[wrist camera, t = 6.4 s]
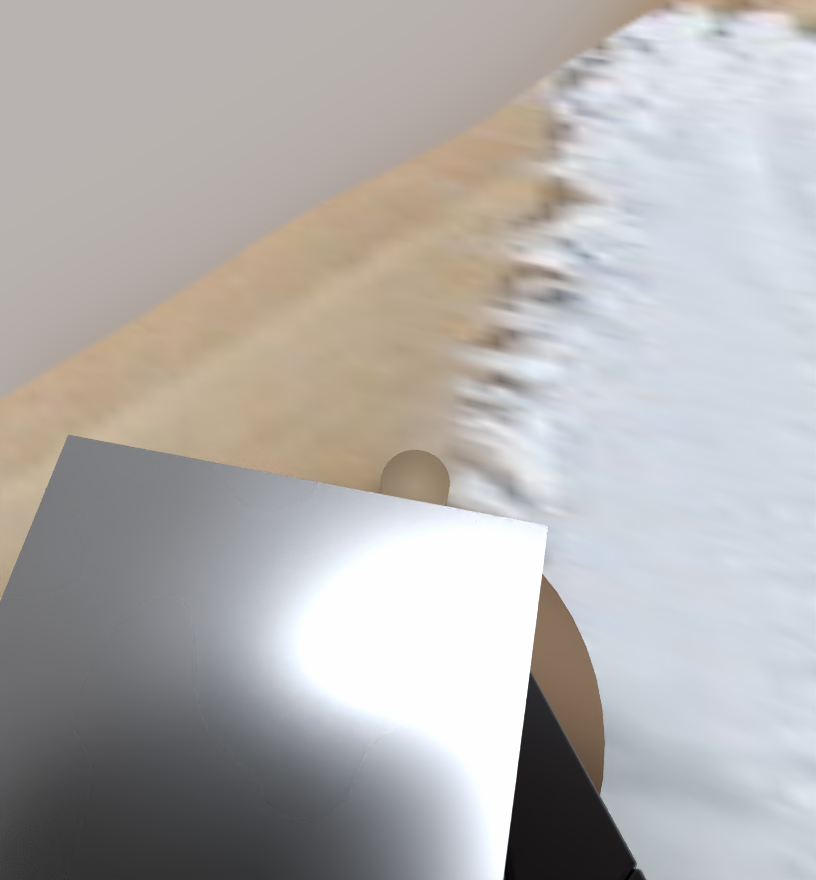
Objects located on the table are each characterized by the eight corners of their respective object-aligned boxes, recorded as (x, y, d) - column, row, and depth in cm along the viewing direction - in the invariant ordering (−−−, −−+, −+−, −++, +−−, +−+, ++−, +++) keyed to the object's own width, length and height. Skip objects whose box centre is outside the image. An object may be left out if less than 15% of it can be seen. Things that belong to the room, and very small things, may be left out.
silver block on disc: (500, 954, 14) (916, 2046, 2) (155, 872, 14) (-813, 1459, 3) (544, 596, 16) (848, 318, 5) (251, 538, 17) (-71, 170, 5)
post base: (554, 1081, 15) (590, 1176, 12) (69, 947, 16) (-11, 1005, 13) (618, 530, 19) (656, 498, 16) (232, 450, 20) (200, 405, 17)
